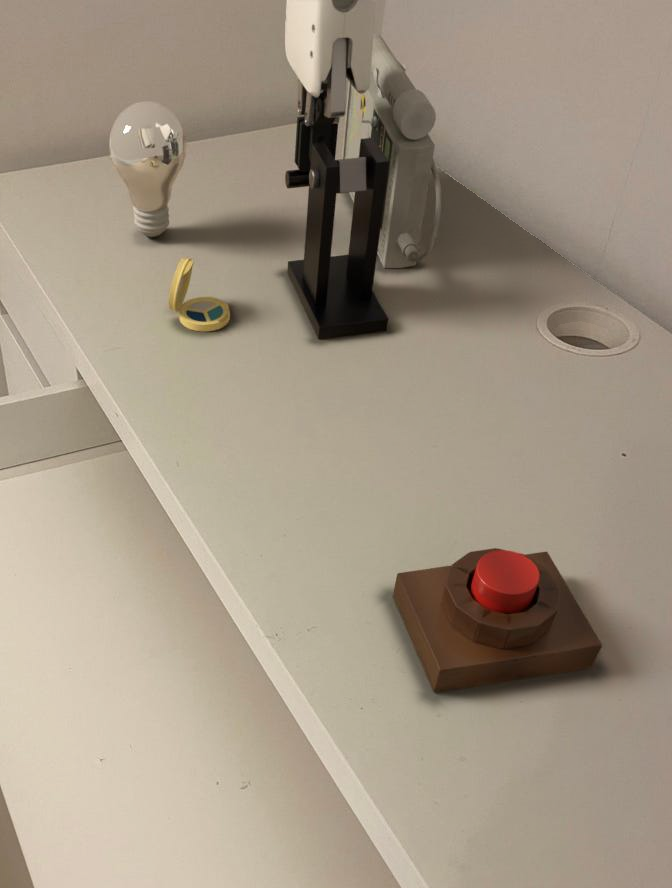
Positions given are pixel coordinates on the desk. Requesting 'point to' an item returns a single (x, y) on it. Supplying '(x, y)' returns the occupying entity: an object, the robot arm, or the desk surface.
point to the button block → (492, 627)
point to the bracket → (347, 276)
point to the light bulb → (148, 161)
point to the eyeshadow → (196, 303)
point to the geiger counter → (396, 153)
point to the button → (505, 581)
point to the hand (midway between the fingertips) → (314, 166)
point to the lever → (348, 176)
